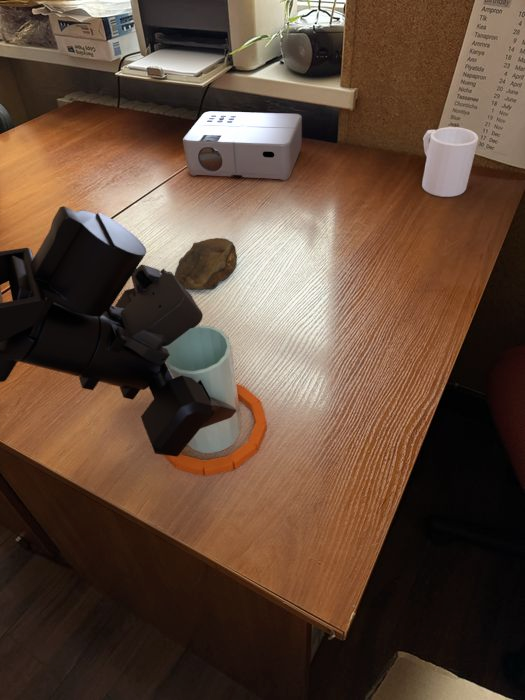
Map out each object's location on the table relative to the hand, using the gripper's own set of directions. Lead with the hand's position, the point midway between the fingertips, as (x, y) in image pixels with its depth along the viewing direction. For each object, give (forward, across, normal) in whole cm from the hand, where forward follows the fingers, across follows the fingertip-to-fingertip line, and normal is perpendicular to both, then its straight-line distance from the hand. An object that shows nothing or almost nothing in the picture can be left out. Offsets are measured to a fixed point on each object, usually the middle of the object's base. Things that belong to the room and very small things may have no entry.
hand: (216, 383), depth 54 cm
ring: (+4, 0, +6) cm, 7 cm away
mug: (+47, +34, -37) cm, 69 cm away
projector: (+28, +63, -17) cm, 71 cm away
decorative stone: (+11, +29, -1) cm, 32 cm away
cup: (+4, 0, +6) cm, 7 cm away
